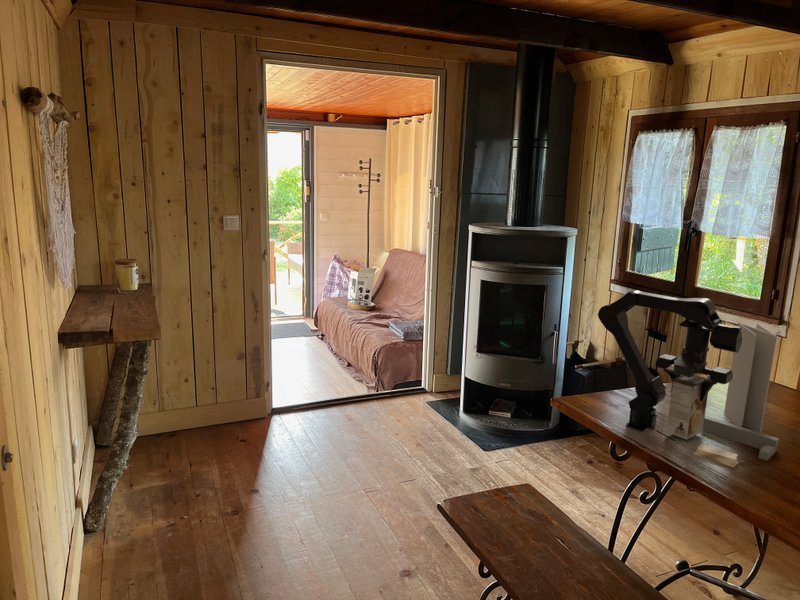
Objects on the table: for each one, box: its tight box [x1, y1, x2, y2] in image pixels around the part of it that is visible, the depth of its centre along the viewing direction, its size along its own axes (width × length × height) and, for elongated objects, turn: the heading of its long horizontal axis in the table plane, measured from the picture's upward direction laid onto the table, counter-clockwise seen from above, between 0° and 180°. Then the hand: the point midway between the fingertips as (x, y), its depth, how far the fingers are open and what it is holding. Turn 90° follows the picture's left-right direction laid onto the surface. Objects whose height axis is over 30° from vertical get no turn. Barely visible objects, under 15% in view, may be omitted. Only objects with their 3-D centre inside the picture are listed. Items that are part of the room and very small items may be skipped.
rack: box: [702, 415, 780, 462], centre depth 162 cm, size 19×8×5 cm, turn 42°
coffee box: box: [665, 374, 709, 440], centre depth 164 cm, size 9×6×16 cm
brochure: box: [723, 322, 778, 433], centre depth 174 cm, size 14×6×30 cm, turn 168°
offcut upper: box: [695, 443, 739, 466], centre depth 153 cm, size 9×4×2 cm, turn 51°
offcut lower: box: [692, 449, 739, 468], centre depth 154 cm, size 10×4×2 cm, turn 45°
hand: (689, 397), depth 163 cm, fingers closed on coffee box, 6 cm apart
